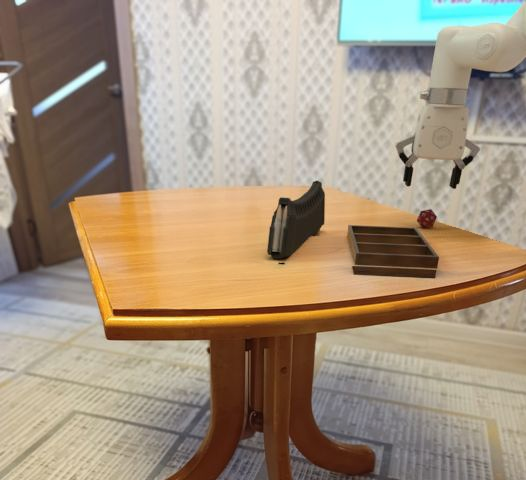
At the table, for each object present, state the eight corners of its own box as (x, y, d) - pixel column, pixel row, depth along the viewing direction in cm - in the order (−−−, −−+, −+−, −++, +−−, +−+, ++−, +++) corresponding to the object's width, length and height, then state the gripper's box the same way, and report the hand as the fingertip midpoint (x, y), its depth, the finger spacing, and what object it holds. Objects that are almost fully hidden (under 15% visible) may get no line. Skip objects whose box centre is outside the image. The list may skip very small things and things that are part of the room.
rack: (413, 245, 100) (416, 227, 99) (435, 278, 83) (439, 256, 81) (346, 243, 101) (348, 224, 100) (353, 274, 84) (356, 253, 82)
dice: (412, 227, 114) (414, 209, 113) (424, 224, 117) (427, 207, 115) (426, 230, 112) (429, 212, 110) (438, 228, 114) (441, 210, 112)
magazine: (314, 184, 109) (277, 154, 81) (329, 185, 108) (297, 155, 80) (304, 264, 112) (264, 262, 84) (318, 266, 111) (283, 265, 83)
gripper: (405, 97, 100) (392, 187, 108) (495, 101, 99) (475, 191, 107) (399, 96, 106) (387, 181, 114) (484, 100, 105) (465, 185, 113)
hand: (430, 186), depth 110 cm, fingers open, 9 cm apart
